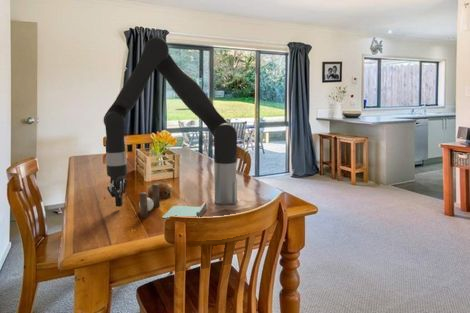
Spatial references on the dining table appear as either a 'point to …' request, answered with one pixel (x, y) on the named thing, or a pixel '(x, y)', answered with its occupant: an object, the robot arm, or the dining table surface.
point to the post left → (143, 205)
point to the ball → (149, 204)
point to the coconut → (160, 191)
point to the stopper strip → (201, 210)
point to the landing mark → (182, 211)
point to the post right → (156, 195)
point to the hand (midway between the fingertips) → (119, 206)
